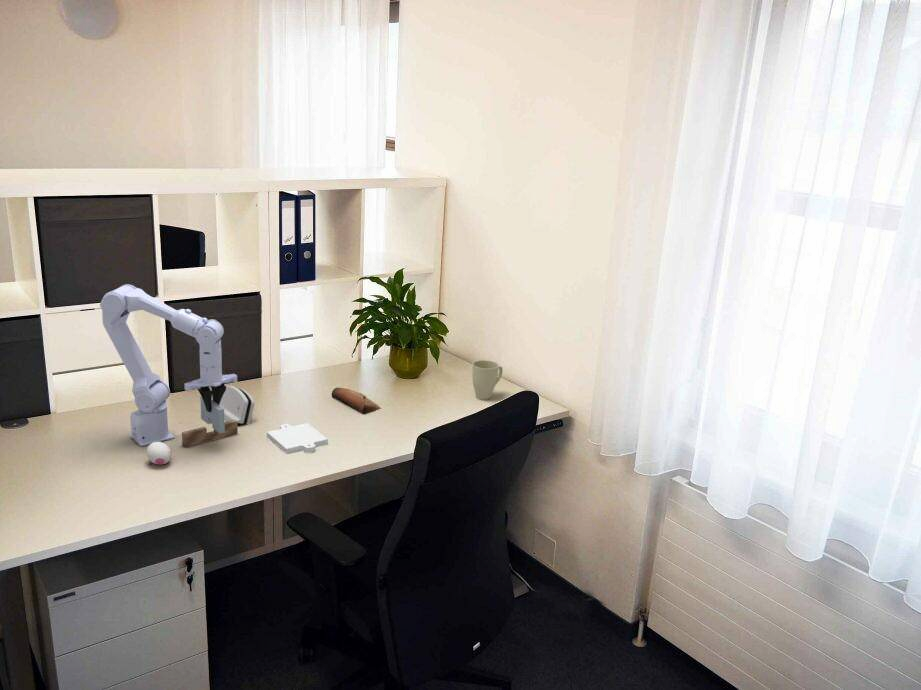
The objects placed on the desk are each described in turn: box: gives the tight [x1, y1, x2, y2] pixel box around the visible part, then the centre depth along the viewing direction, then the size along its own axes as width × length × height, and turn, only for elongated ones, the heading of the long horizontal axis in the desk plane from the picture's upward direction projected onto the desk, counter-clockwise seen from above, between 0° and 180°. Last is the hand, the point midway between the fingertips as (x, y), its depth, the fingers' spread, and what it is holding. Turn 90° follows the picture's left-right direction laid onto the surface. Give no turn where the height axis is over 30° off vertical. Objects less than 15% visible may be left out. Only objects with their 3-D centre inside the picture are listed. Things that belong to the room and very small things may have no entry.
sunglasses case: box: [331, 387, 382, 415], centre depth 255 cm, size 18×7×7 cm
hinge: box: [219, 385, 256, 425], centre depth 238 cm, size 17×5×10 cm, turn 44°
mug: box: [472, 359, 503, 401], centre depth 267 cm, size 11×10×12 cm
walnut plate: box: [181, 420, 238, 448], centre depth 222 cm, size 16×2×4 cm, turn 132°
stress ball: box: [146, 441, 174, 466], centre depth 207 cm, size 8×8×7 cm
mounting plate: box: [266, 422, 329, 455], centre depth 226 cm, size 18×13×2 cm
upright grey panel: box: [199, 395, 226, 433], centre depth 219 cm, size 2×12×7 cm, turn 42°
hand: (212, 410), depth 218 cm, fingers closed on upright grey panel, 1 cm apart
